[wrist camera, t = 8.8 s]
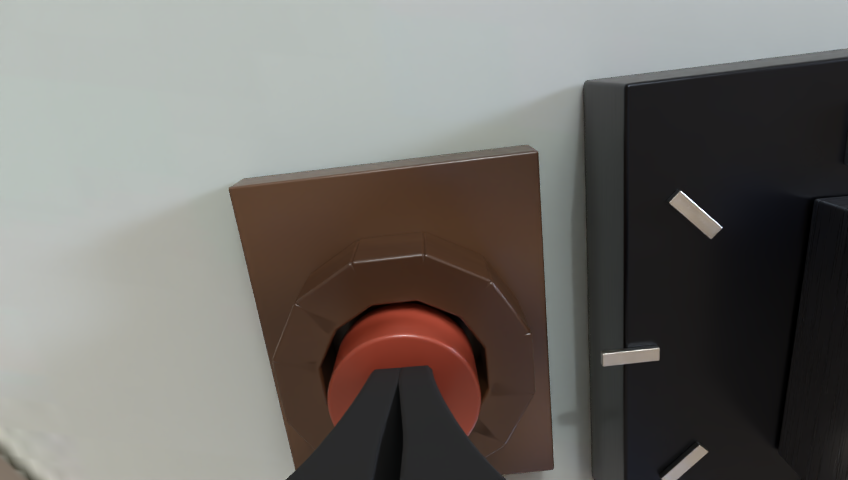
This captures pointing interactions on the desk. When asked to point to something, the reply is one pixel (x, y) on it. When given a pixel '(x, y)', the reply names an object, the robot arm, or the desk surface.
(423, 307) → the button
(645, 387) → the dial base
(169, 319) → the desk surface
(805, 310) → the knob
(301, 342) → the button block
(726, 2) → the desk surface
